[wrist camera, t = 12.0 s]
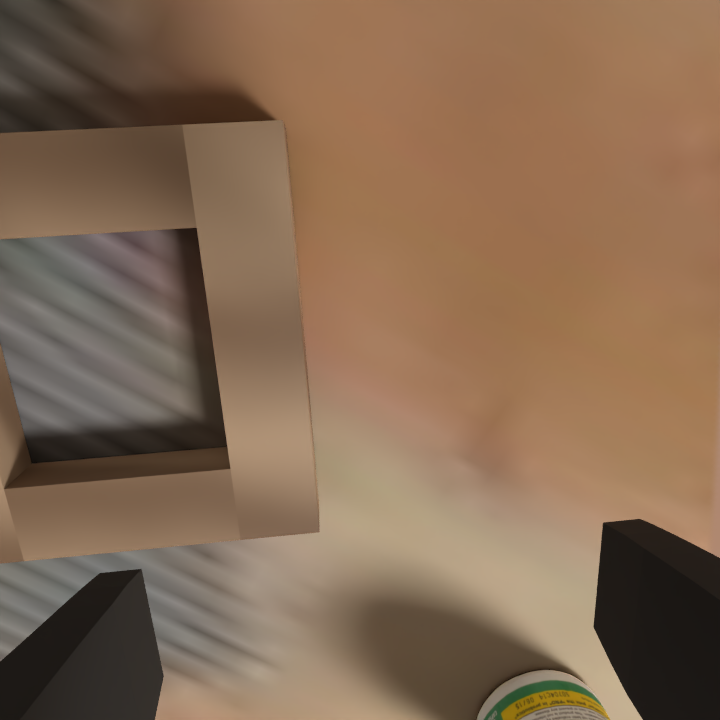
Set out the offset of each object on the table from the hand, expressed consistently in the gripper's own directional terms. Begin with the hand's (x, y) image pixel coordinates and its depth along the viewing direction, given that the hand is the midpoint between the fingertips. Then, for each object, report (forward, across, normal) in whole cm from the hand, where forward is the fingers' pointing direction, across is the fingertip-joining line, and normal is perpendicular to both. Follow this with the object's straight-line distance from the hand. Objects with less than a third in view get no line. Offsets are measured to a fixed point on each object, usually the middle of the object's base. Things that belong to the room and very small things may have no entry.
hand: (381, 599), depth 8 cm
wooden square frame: (+9, +7, -2) cm, 12 cm away
